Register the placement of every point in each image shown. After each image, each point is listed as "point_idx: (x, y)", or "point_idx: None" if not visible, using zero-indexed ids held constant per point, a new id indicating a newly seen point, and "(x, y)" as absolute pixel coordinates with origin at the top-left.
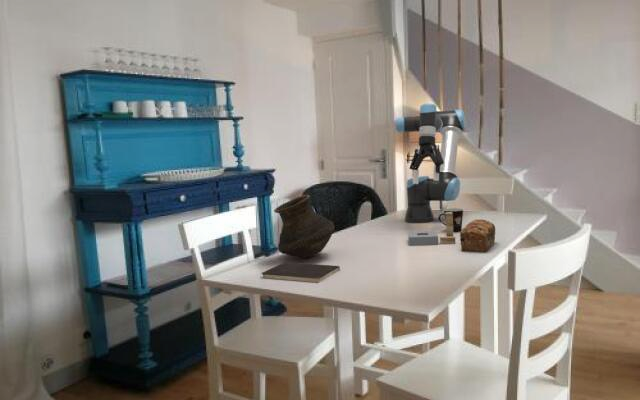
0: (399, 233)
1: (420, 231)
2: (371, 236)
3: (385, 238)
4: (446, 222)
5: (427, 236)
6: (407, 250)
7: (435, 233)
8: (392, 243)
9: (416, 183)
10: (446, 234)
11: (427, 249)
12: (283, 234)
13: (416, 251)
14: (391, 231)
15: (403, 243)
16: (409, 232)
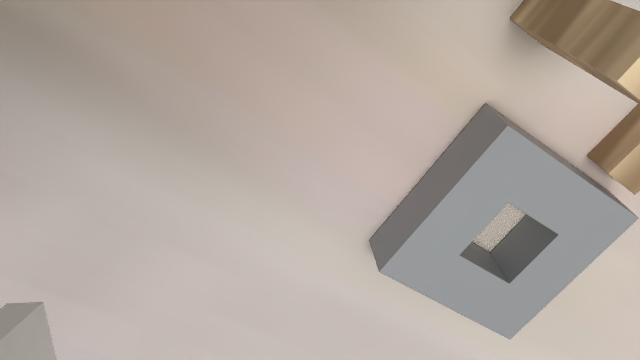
0: (143, 181)
1: (435, 212)
2: (119, 342)
3: (235, 312)
4: (608, 84)
5: (585, 262)
6: (558, 353)
7: (569, 181)
8: (381, 339)
9: (52, 356)
10: (532, 34)
11: (627, 285)
12: None
13: (607, 336)
14: (28, 184)
15: (426, 302)
16: (401, 274)
